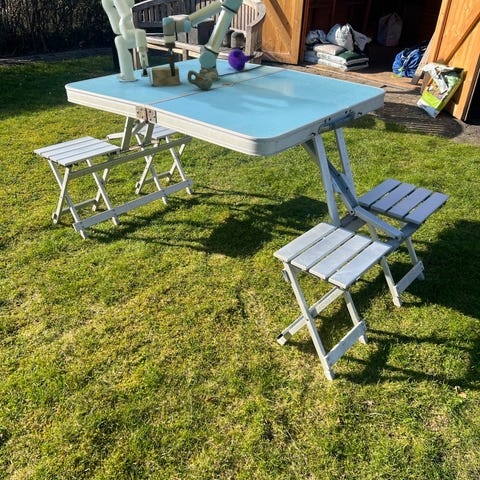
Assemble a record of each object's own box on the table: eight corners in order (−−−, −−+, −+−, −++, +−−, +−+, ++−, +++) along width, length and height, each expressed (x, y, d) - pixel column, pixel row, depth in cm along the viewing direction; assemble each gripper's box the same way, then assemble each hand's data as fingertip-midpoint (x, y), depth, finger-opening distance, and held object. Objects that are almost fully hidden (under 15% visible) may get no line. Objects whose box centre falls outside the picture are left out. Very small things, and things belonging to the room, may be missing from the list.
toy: (240, 72, 359) (228, 71, 382) (259, 65, 362) (246, 64, 386) (234, 52, 351) (222, 52, 375) (253, 45, 354) (241, 45, 378)
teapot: (216, 86, 317) (215, 63, 310) (220, 89, 308) (219, 66, 300) (186, 88, 312) (184, 66, 304) (190, 92, 302) (188, 68, 295)
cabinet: (154, 86, 321) (152, 70, 316) (153, 83, 331) (151, 67, 325) (180, 84, 325) (178, 68, 319) (178, 82, 334) (177, 66, 328)
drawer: (142, 85, 320) (140, 72, 315) (141, 83, 328) (140, 70, 324) (174, 83, 324) (173, 70, 319) (173, 81, 332) (172, 68, 328)
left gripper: (148, 50, 307) (151, 78, 316) (147, 47, 320) (150, 74, 329) (137, 50, 306) (140, 78, 315) (136, 48, 318) (140, 75, 327)
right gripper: (176, 43, 305) (179, 77, 316) (173, 40, 325) (176, 71, 336) (165, 44, 304) (168, 78, 315) (163, 40, 323) (166, 72, 335)
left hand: (145, 76), depth 322 cm, fingers closed
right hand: (172, 75), depth 325 cm, fingers closed on cabinet, 11 cm apart
